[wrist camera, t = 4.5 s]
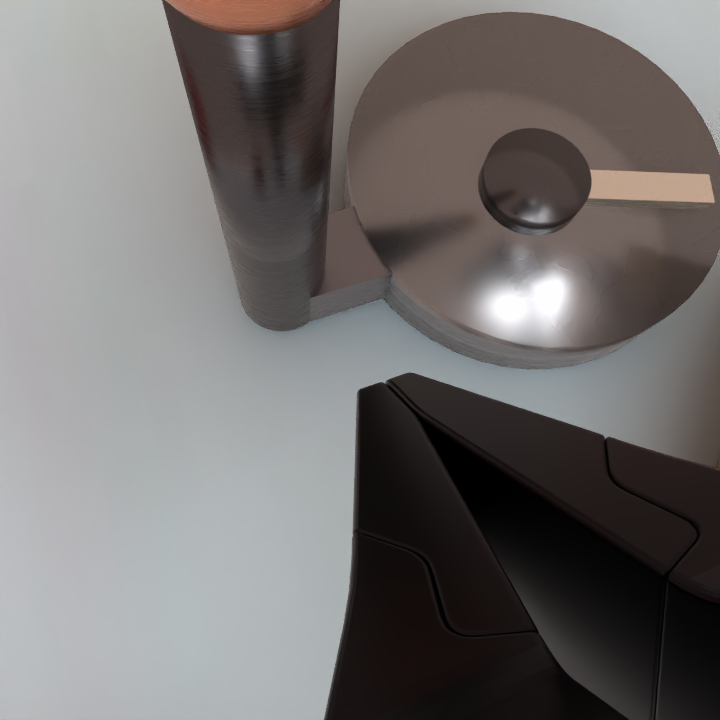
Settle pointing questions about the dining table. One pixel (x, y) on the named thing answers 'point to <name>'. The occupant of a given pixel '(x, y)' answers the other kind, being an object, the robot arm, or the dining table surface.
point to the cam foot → (454, 178)
